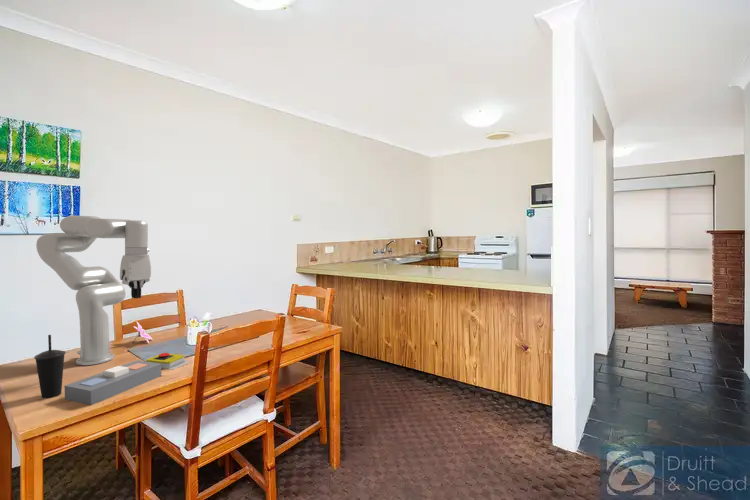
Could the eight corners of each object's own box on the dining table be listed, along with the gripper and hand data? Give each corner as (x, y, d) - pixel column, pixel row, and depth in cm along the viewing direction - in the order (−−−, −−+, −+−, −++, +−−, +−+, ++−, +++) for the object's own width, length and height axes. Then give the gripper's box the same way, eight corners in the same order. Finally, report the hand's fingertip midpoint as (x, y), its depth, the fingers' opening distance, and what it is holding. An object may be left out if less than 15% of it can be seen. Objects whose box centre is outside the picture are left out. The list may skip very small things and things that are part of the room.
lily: (137, 350, 171) (149, 330, 173) (116, 339, 172) (128, 320, 174) (152, 350, 182) (163, 332, 184) (132, 340, 183) (143, 322, 186)
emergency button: (160, 349, 156) (190, 352, 152) (160, 359, 156) (190, 362, 153) (141, 356, 147) (173, 359, 143) (141, 367, 147) (173, 370, 144)
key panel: (64, 399, 117) (64, 385, 117) (137, 371, 141) (137, 360, 141) (91, 405, 113) (90, 390, 113) (161, 375, 137) (161, 363, 137)
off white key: (104, 379, 126) (103, 370, 125) (118, 374, 130) (118, 365, 130) (114, 381, 124) (114, 372, 124) (128, 375, 129) (128, 367, 129)
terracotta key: (125, 375, 133) (125, 367, 133) (138, 370, 137) (138, 363, 137) (135, 377, 131) (135, 369, 131) (148, 372, 136) (148, 364, 136)
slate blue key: (80, 392, 118) (80, 383, 118) (96, 386, 123) (96, 377, 123) (91, 394, 117) (91, 385, 117) (107, 388, 122) (107, 379, 122)
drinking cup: (48, 390, 124) (46, 332, 123) (72, 390, 124) (70, 331, 124) (29, 400, 116) (26, 338, 115) (54, 400, 117) (52, 338, 116)
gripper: (146, 250, 153) (146, 294, 154) (110, 252, 139) (110, 299, 140) (160, 251, 150) (160, 295, 151) (124, 253, 136) (124, 301, 137)
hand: (136, 297), depth 146 cm, fingers closed
